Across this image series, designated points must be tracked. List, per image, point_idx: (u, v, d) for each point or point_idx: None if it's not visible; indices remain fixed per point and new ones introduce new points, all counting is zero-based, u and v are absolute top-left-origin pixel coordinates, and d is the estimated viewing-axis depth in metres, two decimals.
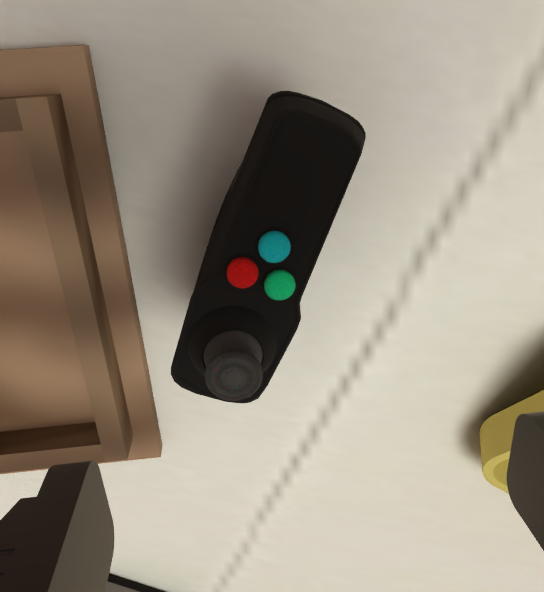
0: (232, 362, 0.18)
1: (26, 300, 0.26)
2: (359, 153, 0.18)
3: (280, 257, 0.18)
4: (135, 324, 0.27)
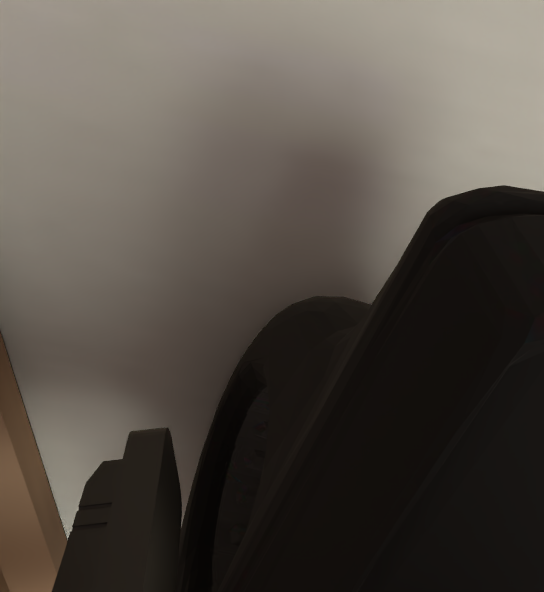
0: None
1: None
2: None
3: None
4: None
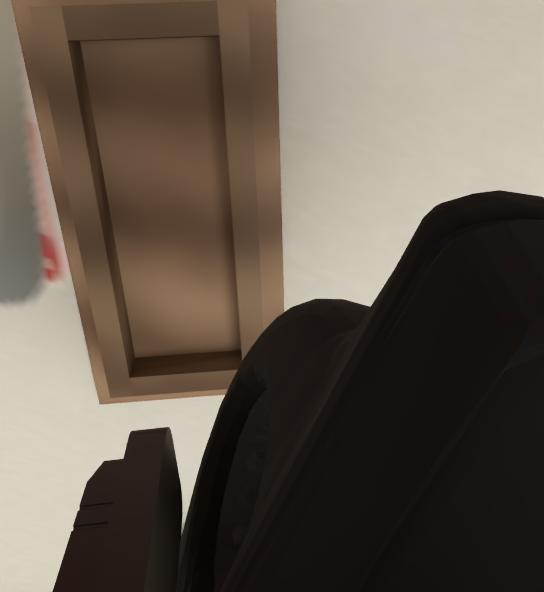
0: None
1: (181, 220, 0.26)
2: None
3: None
4: (281, 250, 0.27)
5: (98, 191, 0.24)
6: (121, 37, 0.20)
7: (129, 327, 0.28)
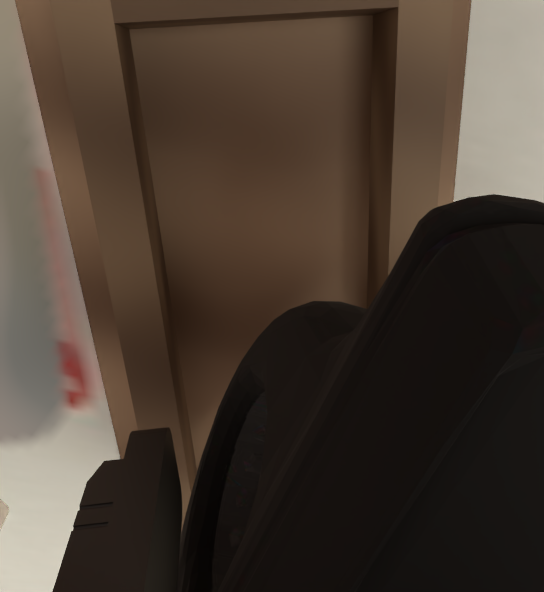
0: None
1: None
2: None
3: None
4: None
5: (160, 286, 0.14)
6: (216, 15, 0.11)
7: None
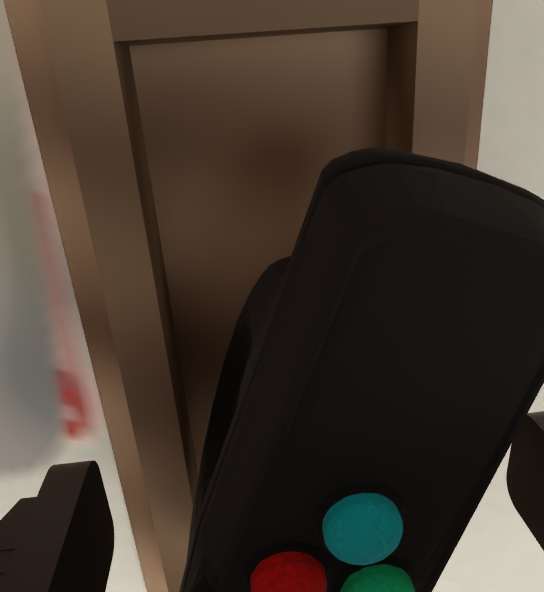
0: None
1: None
2: None
3: (381, 557, 0.07)
4: None
5: (164, 316, 0.13)
6: (222, 31, 0.10)
7: None
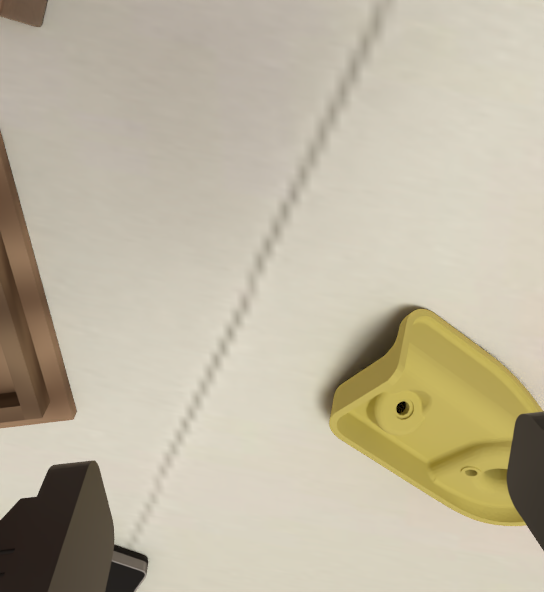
0: None
1: None
2: None
3: None
4: (44, 314, 0.36)
5: None
6: None
7: None
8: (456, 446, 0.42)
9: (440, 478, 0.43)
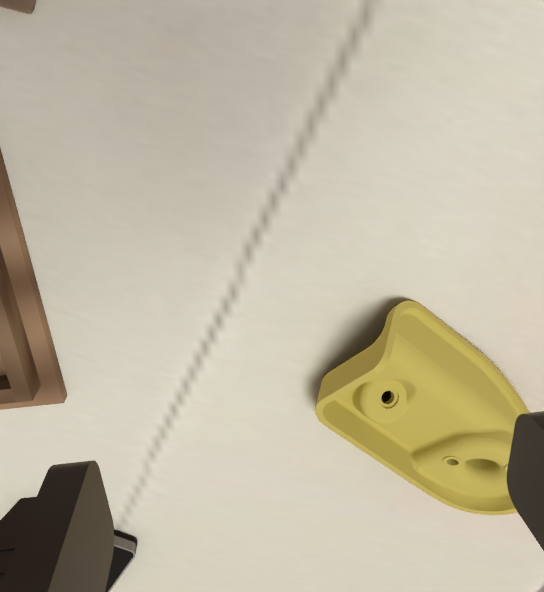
0: None
1: None
2: None
3: None
4: (35, 299, 0.37)
5: None
6: None
7: None
8: (439, 436, 0.43)
9: (422, 467, 0.44)
